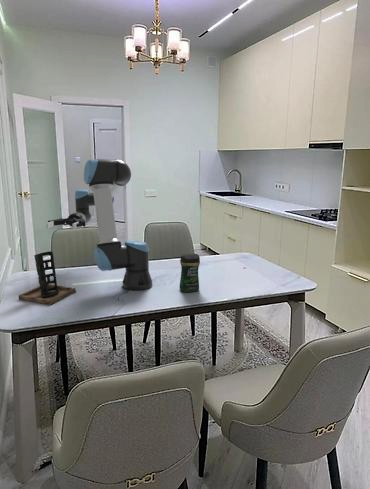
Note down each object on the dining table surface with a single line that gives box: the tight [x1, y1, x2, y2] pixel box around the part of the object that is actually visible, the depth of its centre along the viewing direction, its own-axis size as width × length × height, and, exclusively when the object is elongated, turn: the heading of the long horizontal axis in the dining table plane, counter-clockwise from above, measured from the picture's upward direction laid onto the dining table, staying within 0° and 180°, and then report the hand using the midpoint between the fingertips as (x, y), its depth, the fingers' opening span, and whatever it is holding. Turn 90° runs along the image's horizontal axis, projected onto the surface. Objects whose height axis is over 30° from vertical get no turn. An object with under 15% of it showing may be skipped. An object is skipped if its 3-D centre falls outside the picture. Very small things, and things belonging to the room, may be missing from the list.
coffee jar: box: [179, 253, 201, 293], centre depth 183 cm, size 10×8×19 cm
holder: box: [33, 250, 59, 298], centre depth 173 cm, size 11×8×20 cm
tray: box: [17, 283, 77, 306], centre depth 175 cm, size 18×18×2 cm
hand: (60, 226), depth 186 cm, fingers open, 13 cm apart
